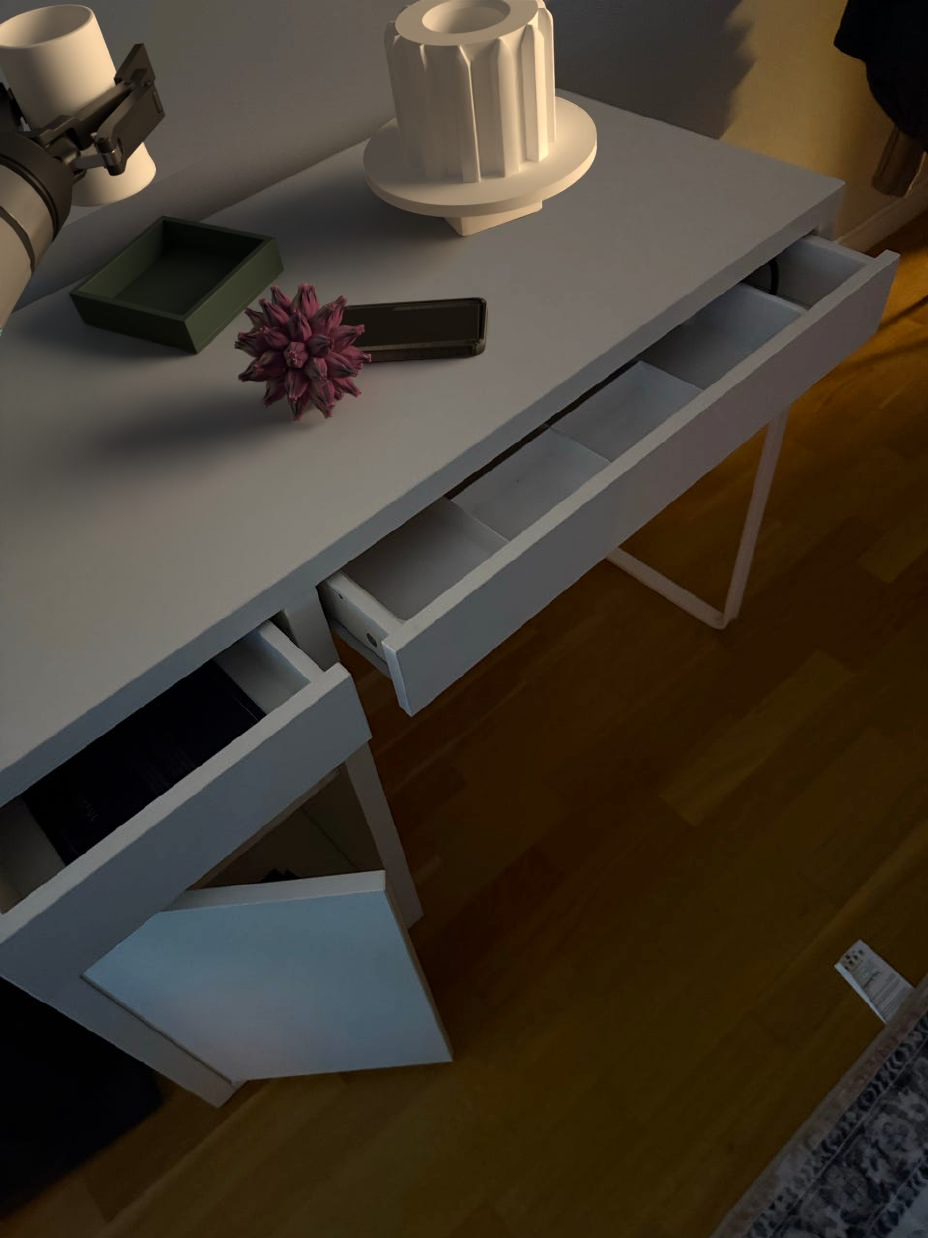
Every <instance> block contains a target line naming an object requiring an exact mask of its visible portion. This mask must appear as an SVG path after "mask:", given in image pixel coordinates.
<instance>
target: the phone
mask: <svg viewBox="0 0 928 1238" xmlns="http://www.w3.org/2000/svg"><path fill="white" fill-rule="evenodd" d="M488 312H489V311H488V302H487V300H486V299H485V298H483V297H480V296H472V297H457V298H441V299H426V300H411V301H409V300H408V301H395V302H393V301H392V302H379V303H362V304H349V305H348V304H347V305H345V306H344V308H343V314H342V320H341V322H340V324H339V326H342V325H348V326H358V325H364V327H363V328H364V332H363V333H361V335H359V336H357V338H356V339H355V340H354V342H353V343H352V344H351V345H350V346H353V347H355V348H357V349H359V350H360V351H362V352H363V353H366V354H371V362H385V361H401V360H403V361H405V360H421V359H422V360H423V359H437V358H440V359H441V358H456V357H457V358H458V357H459V358H460V357H473V356H474V357H475V356H477V355H480V354H482V353H483V352H484V351H485V350H486V343H487V329H488V314H489V313H488Z"/></svg>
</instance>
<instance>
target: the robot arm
mask: <svg viewBox="0 0 928 1238" xmlns="http://www.w3.org/2000/svg"><path fill="white" fill-rule="evenodd" d="M113 79H114V82H115V84H116V86H115V87H113V88H112V89H110V90H109V91H108V92H106V93H105V94H103V95H102V96H100V97H99V98H98V99H96V100H95V101H93V102H92V103H90V104H89V105H88V106H86V107H85V108H83V109H82V110H80V111H79V112H78V113H76V114H75V115H73V116H68V115H60V116H59V117H57V118H56V119H54V120H53V121H51V122H50V123H49V124H47V125H46V126H44V127H43V128H39V127H37V128H35V129H33V130H32V131H31V130H24V123H25V125H28V124H27V122H26V120H25V118H24V115H23V113H22V111H21V109H20V107H19V105H18V103H17V101H16V99H15V96H14V94H13V92H12V90H11V88H10V86H8V87H6V86H5V84H4V82H3V81H0V337H1V336H2V332H3V330H4V327H5V325H6V324H7V322H8V320H9V318H10V316H11V314H12V312H13V310H14V308H15V306H16V304H17V303H18V301H19V299H20V297H21V296H22V294H23V292H24V290H25V289H26V288H27V286H28V284H29V283H30V281H31V279H32V278H33V276H34V273H35V271H36V270H37V268H38V267H39V265H40V263H41V261H42V260H43V258H44V257H45V255H46V253H47V251H48V250H49V248H50V246H51V245H52V244H53V242H54V241H55V240H56V238H57V236H58V235H59V233H60V231H61V230H62V228H63V226H64V224H65V223H66V221H67V220H68V218H69V216H70V213H71V210H72V205H71V203H72V190H73V185H74V184H76V183H77V182H78V181H80V180H81V179H83V178H84V177H85V175H86V173H87V169H91V168H96V167H102V166H103V167H104V169H107V171H108V173H109V175H110V176H118V175H121V174H122V173H124V172H125V168H126V164H127V160H128V159H129V157H130V156H131V155H132V154H133V153H134V152H135V151H136V149H137V148H138V147H139V146H140V145H141V144H142V142H143V143H144V141H145V140H146V139H147V138H148V137H149V136H150V135H151V133H152V132H153V131H154V130H155V129H156V127H158V125H159V124H160V123H161V122H162V121H163V120H164V118H165V117H166V113H165V109H164V107H163V104H162V101H161V98H160V96H159V95H160V94H159V93H158V90H157V87H156V84H155V81H156V79H157V77H156V75H155V72H154V69H153V66H152V63H151V59H150V58H149V55H148V51H147V49H146V46H145V43H144V42H140V43H134V44H133V46H132V48H131V49H130V51H129V52H128V53H127V55H126V57H125V58H124V60H123V62H122V63H121V65H120V67H119V68H118V70H116V74H115V77H114V78H113ZM21 119H23V121H22V120H21ZM23 122H24V123H23ZM63 132H65V133H63Z"/></svg>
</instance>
